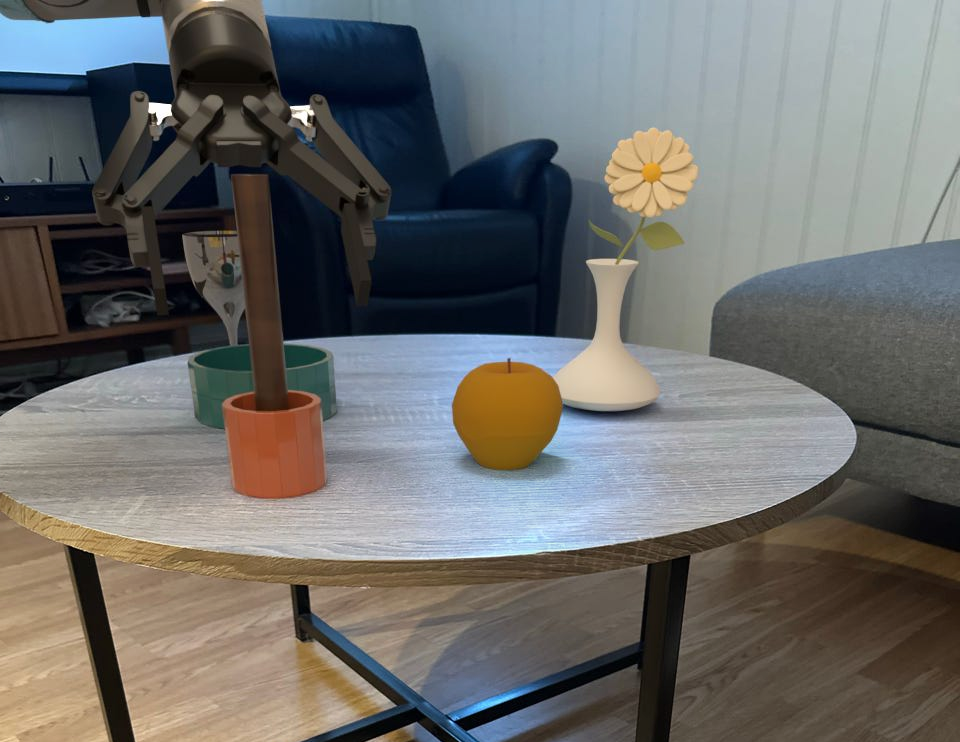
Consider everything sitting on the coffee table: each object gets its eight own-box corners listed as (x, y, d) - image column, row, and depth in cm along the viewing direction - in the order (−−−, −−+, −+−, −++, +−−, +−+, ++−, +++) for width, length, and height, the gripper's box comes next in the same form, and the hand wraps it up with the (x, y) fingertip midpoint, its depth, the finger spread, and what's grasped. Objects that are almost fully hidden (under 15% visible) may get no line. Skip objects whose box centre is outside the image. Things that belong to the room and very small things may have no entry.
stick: (254, 481, 71) (219, 174, 61) (280, 474, 73) (250, 173, 63) (280, 491, 69) (248, 175, 60) (305, 483, 71) (279, 174, 61)
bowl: (169, 421, 90) (159, 356, 87) (281, 397, 98) (276, 338, 95) (251, 448, 82) (243, 378, 79) (365, 419, 90) (361, 356, 88)
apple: (577, 483, 74) (584, 367, 70) (467, 492, 72) (467, 373, 68) (541, 451, 82) (545, 345, 77) (441, 458, 79) (439, 350, 75)
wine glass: (252, 366, 112) (237, 229, 104) (285, 378, 106) (272, 234, 99) (189, 375, 107) (169, 233, 100) (220, 388, 102) (201, 238, 95)
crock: (215, 493, 71) (203, 401, 68) (289, 472, 76) (281, 385, 73) (271, 515, 67) (261, 418, 64) (346, 492, 72) (340, 400, 68)
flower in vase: (529, 412, 93) (538, 126, 81) (569, 388, 102) (582, 128, 90) (657, 428, 88) (687, 126, 76) (687, 401, 97) (717, 128, 86)
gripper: (380, 100, 76) (433, 323, 70) (49, 95, 69) (79, 341, 64) (392, 14, 69) (452, 254, 63) (26, 0, 62) (57, 266, 57)
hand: (265, 298), depth 64 cm, fingers open, 13 cm apart
